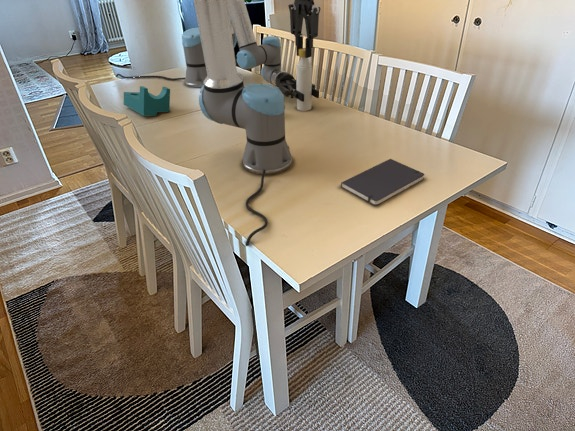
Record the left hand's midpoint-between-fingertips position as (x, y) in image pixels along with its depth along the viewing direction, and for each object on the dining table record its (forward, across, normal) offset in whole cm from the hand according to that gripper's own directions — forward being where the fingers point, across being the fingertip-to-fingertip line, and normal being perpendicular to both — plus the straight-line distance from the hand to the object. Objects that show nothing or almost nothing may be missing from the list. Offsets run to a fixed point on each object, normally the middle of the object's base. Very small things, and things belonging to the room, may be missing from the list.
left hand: (310, 96), depth 156 cm
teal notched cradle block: (-37, +55, -6) cm, 67 cm away
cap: (-5, 0, +16) cm, 17 cm away
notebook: (+57, +10, -6) cm, 58 cm away
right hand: (-5, 0, +14) cm, 15 cm away
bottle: (-5, 0, -6) cm, 8 cm away
